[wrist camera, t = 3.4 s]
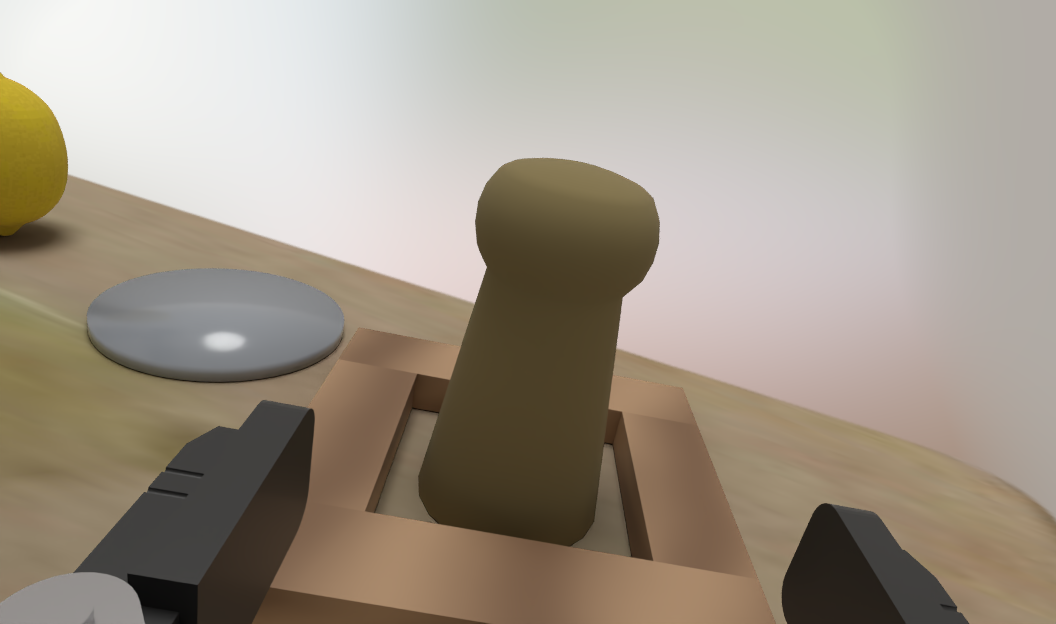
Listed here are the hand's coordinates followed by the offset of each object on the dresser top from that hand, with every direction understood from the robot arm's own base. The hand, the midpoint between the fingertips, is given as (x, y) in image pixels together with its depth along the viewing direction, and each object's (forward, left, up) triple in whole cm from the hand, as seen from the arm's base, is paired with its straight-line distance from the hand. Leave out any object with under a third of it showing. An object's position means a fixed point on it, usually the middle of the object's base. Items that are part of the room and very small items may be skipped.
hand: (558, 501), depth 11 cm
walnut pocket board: (0, +10, -7) cm, 12 cm away
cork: (0, +10, -8) cm, 13 cm away
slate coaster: (-13, +18, -7) cm, 23 cm away
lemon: (-26, +23, -8) cm, 35 cm away
